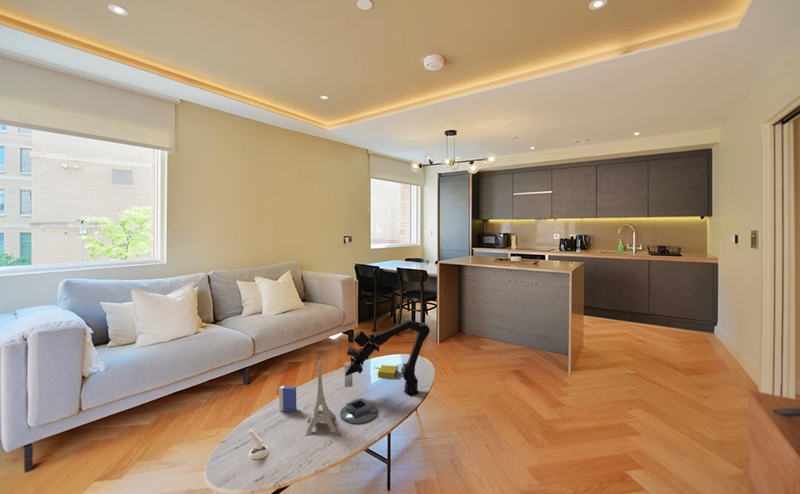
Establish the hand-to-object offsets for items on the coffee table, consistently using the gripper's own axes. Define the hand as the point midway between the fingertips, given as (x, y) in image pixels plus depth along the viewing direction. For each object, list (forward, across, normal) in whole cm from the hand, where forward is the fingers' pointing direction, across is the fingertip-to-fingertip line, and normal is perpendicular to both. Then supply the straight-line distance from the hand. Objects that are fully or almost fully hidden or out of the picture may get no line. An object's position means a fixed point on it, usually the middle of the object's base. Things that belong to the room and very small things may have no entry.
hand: (345, 373), depth 180 cm
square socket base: (+5, +17, +14) cm, 22 cm away
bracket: (-7, -26, +27) cm, 38 cm away
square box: (+4, 0, +6) cm, 7 cm away
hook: (+34, +40, -15) cm, 55 cm away
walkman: (+30, +8, -11) cm, 33 cm away
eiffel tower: (+18, +24, +2) cm, 30 cm away
